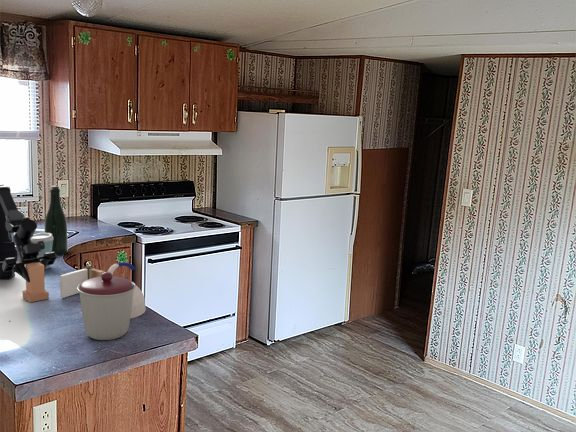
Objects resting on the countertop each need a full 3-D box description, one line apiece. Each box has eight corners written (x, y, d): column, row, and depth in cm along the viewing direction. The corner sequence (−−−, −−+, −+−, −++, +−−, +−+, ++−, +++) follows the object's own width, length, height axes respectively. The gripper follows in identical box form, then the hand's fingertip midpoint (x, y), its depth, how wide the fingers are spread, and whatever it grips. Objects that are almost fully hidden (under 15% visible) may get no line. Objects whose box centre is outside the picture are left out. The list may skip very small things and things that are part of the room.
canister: (114, 320, 202) (114, 261, 198) (147, 334, 190) (147, 273, 186) (66, 333, 188) (65, 271, 184) (98, 350, 177) (97, 284, 173)
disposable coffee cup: (42, 272, 251) (41, 238, 248) (22, 268, 254) (21, 235, 251) (59, 266, 260) (58, 233, 258) (40, 263, 264) (39, 231, 261)
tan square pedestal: (22, 297, 218) (21, 263, 216) (41, 293, 223) (40, 261, 221) (29, 302, 213) (28, 268, 211) (48, 298, 218) (48, 265, 216)
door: (82, 288, 231) (82, 267, 229) (87, 290, 230) (87, 269, 228) (58, 296, 221) (57, 274, 219) (63, 297, 220) (62, 276, 218)
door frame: (104, 292, 229) (104, 268, 227) (99, 294, 227) (99, 269, 225) (67, 282, 239) (66, 259, 237) (62, 283, 237) (62, 260, 235)
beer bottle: (40, 254, 278) (38, 186, 272) (51, 249, 288) (50, 183, 282) (61, 256, 277) (59, 188, 271) (71, 251, 287) (70, 185, 281)
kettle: (74, 315, 204) (74, 266, 201) (111, 298, 223) (111, 253, 220) (123, 325, 198) (123, 274, 194) (156, 307, 217) (157, 260, 213)
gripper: (3, 237, 210) (15, 273, 204) (54, 231, 223) (67, 265, 217) (-4, 253, 217) (8, 289, 211) (46, 247, 230) (59, 280, 224)
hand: (36, 280), depth 216 cm, fingers closed on tan square pedestal, 5 cm apart
